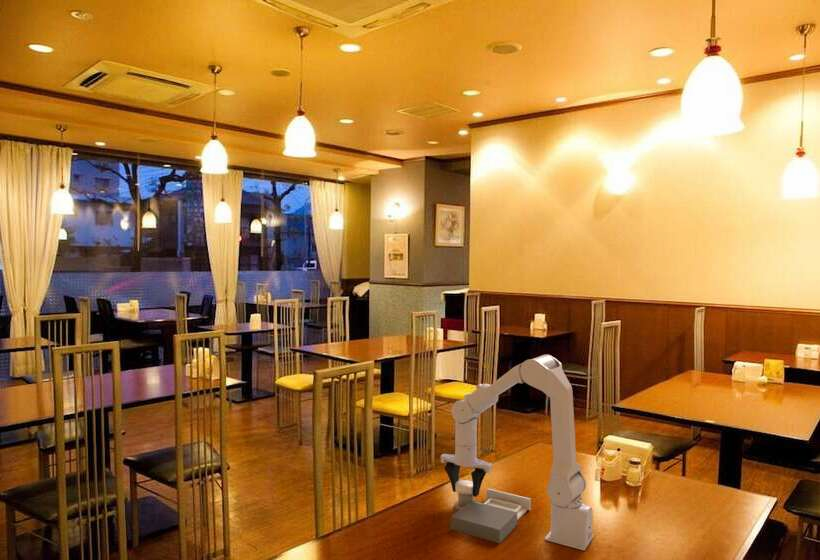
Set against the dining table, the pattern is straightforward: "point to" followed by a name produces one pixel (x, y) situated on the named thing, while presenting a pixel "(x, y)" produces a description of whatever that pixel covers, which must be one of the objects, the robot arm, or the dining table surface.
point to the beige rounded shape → (464, 487)
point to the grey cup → (463, 500)
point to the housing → (484, 521)
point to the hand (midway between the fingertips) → (465, 493)
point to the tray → (508, 501)
